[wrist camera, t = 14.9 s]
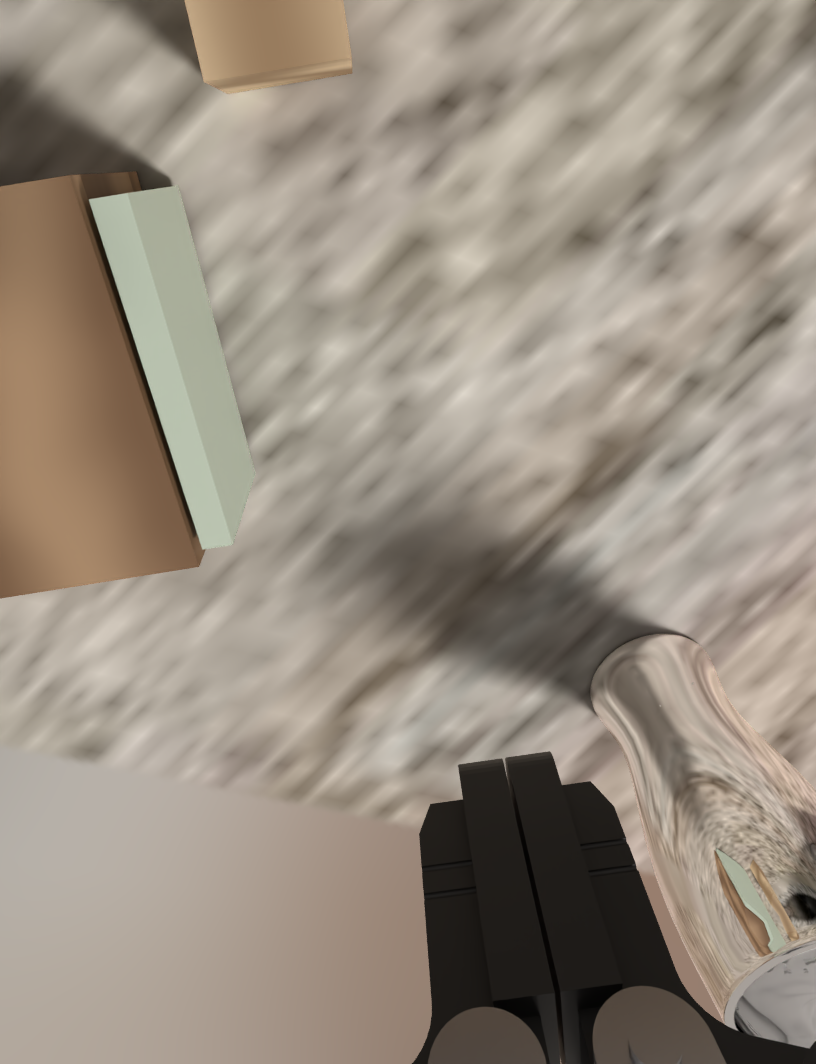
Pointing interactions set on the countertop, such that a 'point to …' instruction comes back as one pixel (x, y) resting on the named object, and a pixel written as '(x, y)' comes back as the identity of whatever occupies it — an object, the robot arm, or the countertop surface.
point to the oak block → (269, 41)
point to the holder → (77, 405)
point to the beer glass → (720, 833)
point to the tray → (179, 353)
